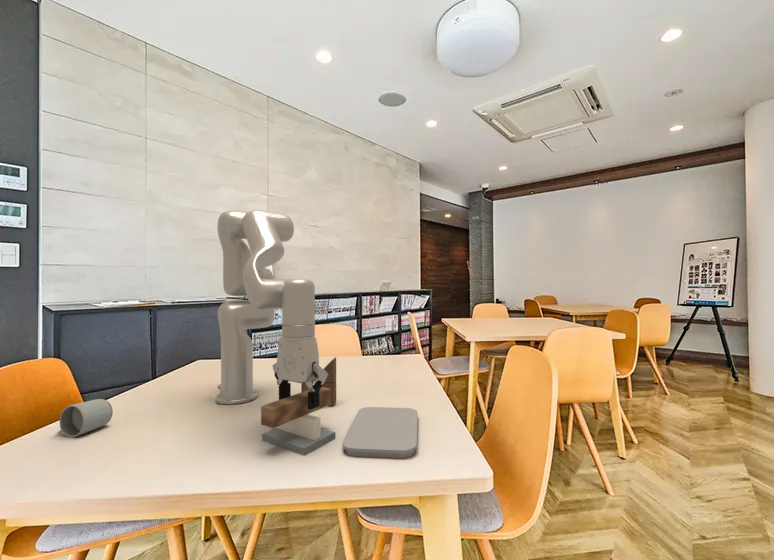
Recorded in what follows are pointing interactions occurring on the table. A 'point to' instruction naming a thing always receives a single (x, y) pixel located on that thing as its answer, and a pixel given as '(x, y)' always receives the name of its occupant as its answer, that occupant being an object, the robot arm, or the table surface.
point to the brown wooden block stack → (327, 381)
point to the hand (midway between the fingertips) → (298, 404)
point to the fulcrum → (300, 435)
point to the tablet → (382, 432)
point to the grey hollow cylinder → (85, 417)
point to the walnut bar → (291, 408)
